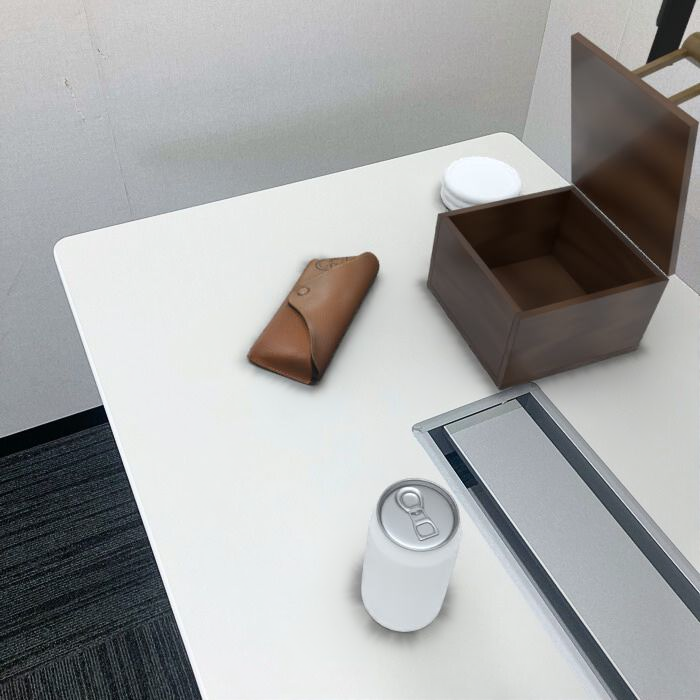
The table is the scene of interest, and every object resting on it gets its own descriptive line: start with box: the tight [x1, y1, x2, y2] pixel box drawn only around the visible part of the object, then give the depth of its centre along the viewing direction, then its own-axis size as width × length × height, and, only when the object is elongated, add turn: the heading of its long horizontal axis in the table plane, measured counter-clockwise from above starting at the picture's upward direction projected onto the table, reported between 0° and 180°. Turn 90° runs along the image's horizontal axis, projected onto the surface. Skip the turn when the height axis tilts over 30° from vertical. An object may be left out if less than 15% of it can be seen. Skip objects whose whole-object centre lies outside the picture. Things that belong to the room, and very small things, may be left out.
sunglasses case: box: [246, 251, 381, 385], centre depth 79 cm, size 18×7×7 cm
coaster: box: [440, 155, 524, 211], centre depth 95 cm, size 10×10×4 cm
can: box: [360, 477, 463, 633], centre depth 55 cm, size 6×6×12 cm
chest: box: [426, 184, 670, 391], centre depth 78 cm, size 17×17×10 cm
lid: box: [570, 31, 700, 278], centre depth 70 cm, size 18×17×10 cm
